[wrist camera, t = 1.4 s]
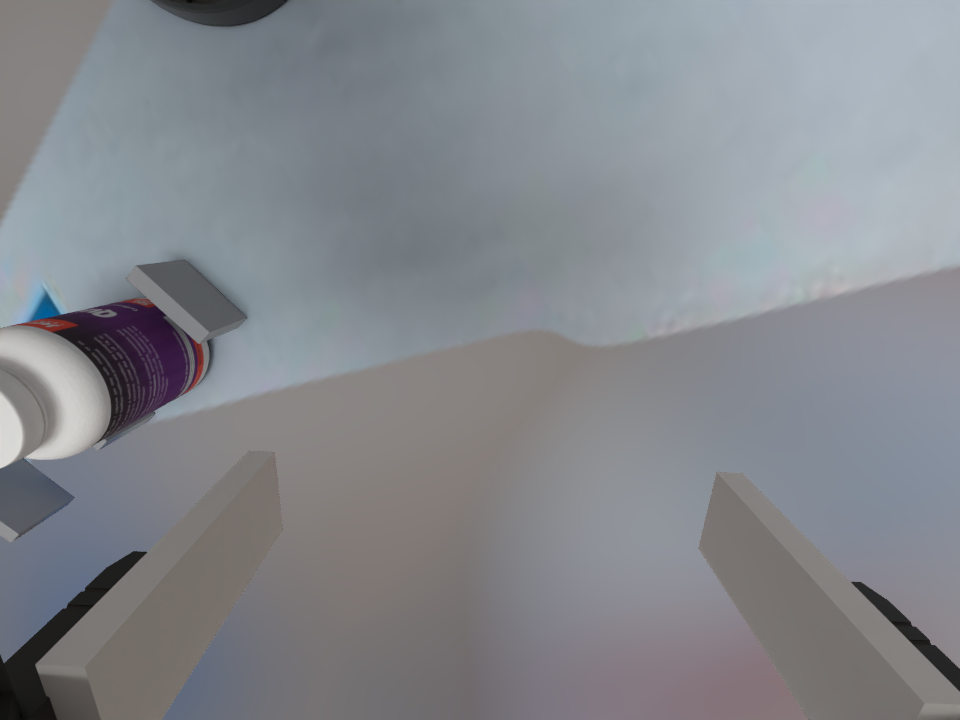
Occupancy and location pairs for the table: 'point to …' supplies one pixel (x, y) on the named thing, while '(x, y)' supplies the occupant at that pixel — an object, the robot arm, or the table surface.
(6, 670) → the robot arm
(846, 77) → the table surface
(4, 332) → the pill bottle
